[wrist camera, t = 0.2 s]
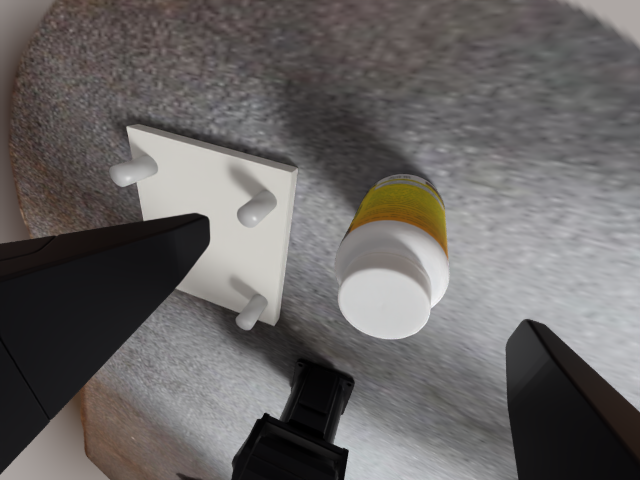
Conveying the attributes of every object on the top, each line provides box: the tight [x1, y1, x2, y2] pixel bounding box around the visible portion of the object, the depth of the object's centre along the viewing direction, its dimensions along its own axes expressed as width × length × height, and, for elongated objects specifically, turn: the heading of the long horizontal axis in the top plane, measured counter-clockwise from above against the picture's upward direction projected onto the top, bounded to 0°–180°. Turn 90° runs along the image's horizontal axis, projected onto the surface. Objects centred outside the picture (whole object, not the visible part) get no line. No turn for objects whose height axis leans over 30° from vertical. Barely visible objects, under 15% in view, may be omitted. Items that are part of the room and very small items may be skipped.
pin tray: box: [109, 124, 298, 330], centre depth 26 cm, size 16×14×4 cm
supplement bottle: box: [335, 174, 450, 339], centre depth 17 cm, size 6×6×10 cm
